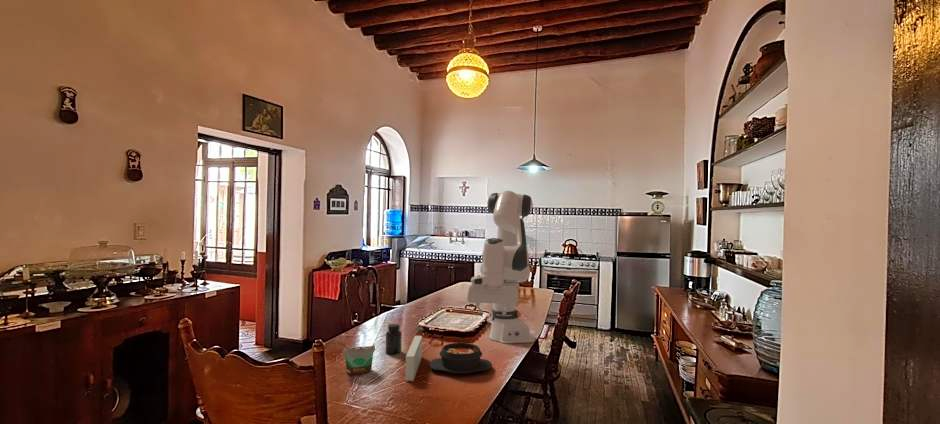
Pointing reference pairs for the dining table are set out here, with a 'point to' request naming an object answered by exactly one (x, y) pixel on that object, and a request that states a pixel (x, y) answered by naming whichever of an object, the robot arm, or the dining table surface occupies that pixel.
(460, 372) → the casserole
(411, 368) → the board
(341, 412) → the dining table surface
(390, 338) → the supplement bottle
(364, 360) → the food container
